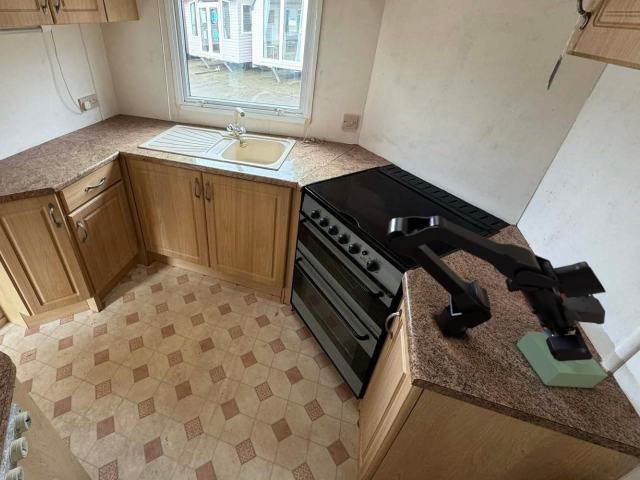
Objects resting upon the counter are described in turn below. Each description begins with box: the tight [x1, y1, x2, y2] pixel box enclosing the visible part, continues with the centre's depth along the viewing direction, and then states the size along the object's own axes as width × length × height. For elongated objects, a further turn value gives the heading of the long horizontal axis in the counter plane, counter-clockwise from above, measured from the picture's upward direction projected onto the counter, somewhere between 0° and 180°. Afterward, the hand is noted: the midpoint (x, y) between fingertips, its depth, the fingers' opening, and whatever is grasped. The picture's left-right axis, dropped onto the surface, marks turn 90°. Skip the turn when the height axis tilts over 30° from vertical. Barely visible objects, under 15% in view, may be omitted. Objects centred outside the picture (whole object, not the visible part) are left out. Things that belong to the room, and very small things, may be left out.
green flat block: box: [515, 331, 609, 389], centre depth 74 cm, size 11×10×8 cm
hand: (572, 346), depth 72 cm, fingers closed, pressing on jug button
